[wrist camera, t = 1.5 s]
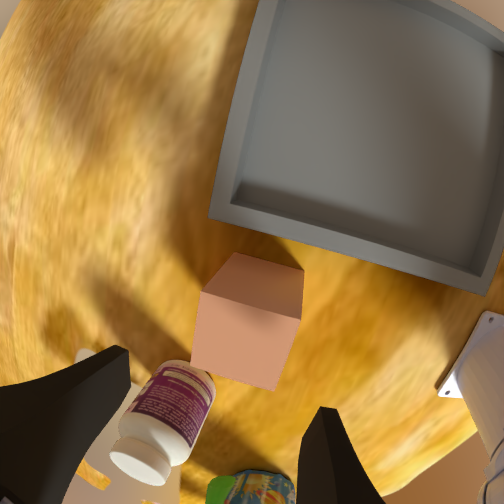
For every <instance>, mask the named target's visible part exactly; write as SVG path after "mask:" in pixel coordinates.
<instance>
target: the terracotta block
mask: <svg viewBox="0 0 504 504" xmlns="http://www.w3.org/2000/svg"><path fill="white" fill-rule="evenodd" d="M303 286H304V271H303V270H299V269H296V268H292V267H288V266H285V265H281V264H277V263H274V262H270V261H266V260H263V259H259V258H255V257H252V256H248V255H244V254H241V253H237V252H234V253H233V254H232V255H231V257H230V258H229V259H228V260H227V261H226V262H225V263H224V265H223V266H222V267H221V268H220V269H219V270H218V272H217V273H216V274H215V275H214V276H213V277H212V279H211V280H210V281H209V282H208V283H207V284H206V286H205V287H204V288H203V289H202V290H201V293H200V299H199V306H198V312H197V319H196V326H195V332H194V340H193V347H192V354H191V362H190V366H192V367H195V368H198V369H201V370H204V371H207V372H210V373H213V374H216V375H219V376H222V377H225V378H229V379H232V380H235V381H238V382H242V383H245V384H249V385H252V386H256V387H259V388H263V389H267V390H271V391H274V390H275V388H276V385H277V383H278V380H279V378H280V375H281V373H282V370H283V367H284V365H285V362H286V360H287V357H288V354H289V352H290V349H291V346H292V343H293V341H294V338H295V335H296V332H297V330H298V327H299V324H300V321H301V313H302V300H303Z"/></svg>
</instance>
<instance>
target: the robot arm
mask: <svg viewBox="0 0 504 504" xmlns="http://www.w3.org/2000/svg"><path fill="white" fill-rule="evenodd" d="M490 318H491V319H490ZM489 319H490V320H489ZM130 388H131V380H130V367H129V351H128V350H127V349H124V348H122V347H120V346H117V345H113V346H111V347H109V348H107V349H105V350H103V351H101V352H99V353H97V354H95V355H93V356H91V357H89V358H87V359H85V360H82V361H80V362H78V363H76V364H74V365H72V366H69V367H67V368H65V369H62V370H60V371H57V372H55V373H52V374H49V375H47V376H44V377H41V378H38V379H35V380H31V381H27V382H23V383H19V384H13V385H8V386H2V387H0V504H61V503H62V501H63V498H64V496H65V493H66V491H67V489H68V487H69V484H70V482H71V480H72V478H73V476H74V474H75V472H76V470H77V468H78V466H79V464H80V463H81V461H82V459H83V457H84V455H85V453H86V452H87V450H88V449H89V447H90V446H91V444H92V443H93V441H94V440H95V438H96V437H97V436H98V435H99V434H100V432H101V431H102V430H103V428H104V427H105V426H106V424H107V423H108V422H109V420H110V419H111V418H112V417H113V415H114V414H115V412H116V411H117V410H118V408H119V407H120V406H121V404H122V402H123V400H124V399H125V397H126V395H127V393H128V391H129V389H130ZM446 391H447V392H446ZM437 394H438V396H441V397H453V398H463V399H464V401H465V403H466V405H467V407H468V409H469V411H470V413H471V416H472V418H473V420H474V422H475V425H476V427H477V429H478V431H479V434H480V436H481V439H482V441H483V443H484V446H485V448H486V451H487V454H488V456H489V459H490V464H489V465H488V466H487V467H486V468H485V469H484V473H485V476H486V479H487V480H486V481H485V482H484V484H483V485H482V486H481V489H480V491H479V494H478V498H477V504H504V315H501V314H498V313H494V312H491V311H485V312H483V313H482V315H481V317H480V319H479V321H478V323H477V325H476V327H475V328H474V330H473V332H472V334H471V336H470V338H469V340H468V341H467V343H466V345H465V347H464V349H463V350H462V352H461V354H460V355H459V357H458V359H457V360H456V362H455V364H454V365H453V367H452V368H451V370H450V372H449V373H448V375H447V376H446V378H445V379H444V381H443V382H442V384H441V385H440V387H439V388H438V390H437ZM296 504H386V503H385V502H384V501H383V500H382V498H381V496H380V495H379V493H378V492H377V491H376V489H375V487H374V486H373V484H372V483H371V481H370V479H369V478H368V476H367V474H366V472H365V470H364V469H363V467H362V465H361V463H360V461H359V459H358V457H357V455H356V453H355V451H354V449H353V446H352V444H351V442H350V440H349V437H348V435H347V433H346V430H345V428H344V426H343V423H342V421H341V418H340V416H339V413H338V411H337V409H334V408H327V407H321V406H320V408H319V409H318V411H317V413H316V415H315V417H314V418H313V420H312V422H311V424H310V425H309V427H308V429H307V430H306V432H305V434H304V435H303V437H302V442H301V447H300V453H299V459H298V476H297V495H296Z"/></svg>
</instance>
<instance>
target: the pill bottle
mask: <svg viewBox="0 0 504 504" xmlns="http://www.w3.org/2000/svg"><path fill="white" fill-rule="evenodd" d="M215 396H216V388H215V385H214V382H213V381H212V379H211V378H210V376H209V375H208V374H207V373H206V372H205V371H204V370H201V369H198V368H195V367H192V366H190V362H187V361H183V360H169V361H166V362H164V363H163V364H161V365H160V366H159V367H158V369H157V370H156V371H155V373H154V374H153V375H152V377H151V378H150V379H149V381H148V382H147V383H146V385H145V386H144V387H143V389H142V390H141V391H140V393H139V394H138V395H137V397H136V398H135V400H134V401H133V402H132V404H131V405H130V406H129V408H128V409H127V410H126V411H125V413H124V414H123V416H122V417H121V419H120V421H119V432H120V435H121V438H120V439H119V440H117V441H116V443H115V445H114V446H113V448H112V449H111V451H110V454H109V455H110V458H111V460H112V461H113V462H114V463H115V464H116V465H117V466H118V467H119V468H120V469H121V470H122V471H124V472H125V473H127V474H128V475H130V476H131V477H133V478H135V479H137V480H139V481H141V482H144V483H147V484H151V485H155V486H161V485H163V484H165V482H166V480H167V479H168V477H169V475H170V473H171V466H177V465H180V464H182V463H184V462H185V461H186V460H187V459H188V457H189V456H190V454H191V451H192V449H193V447H194V445H195V443H196V440H197V438H198V436H199V433H200V431H201V428H202V426H203V424H204V421H205V419H206V417H207V415H208V413H209V410H210V408H211V406H212V403H213V401H214V399H215Z"/></svg>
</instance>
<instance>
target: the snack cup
mask: <svg viewBox="0 0 504 504" xmlns="http://www.w3.org/2000/svg"><path fill="white" fill-rule="evenodd" d="M295 498H296V496H295V489H294V485H293V483H291V482H290V481H289V480H287V479H285V477H283V476H282V475H281V474H272V473H269V472H266V471H253V470H245V471H244V472H239V473H237V474H235V475H233V476H231V475H226V476H218V477H216V478H213V479H212V480H211V481H210V483H209V484H208V488H207V494H206V502H205V504H295Z"/></svg>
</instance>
